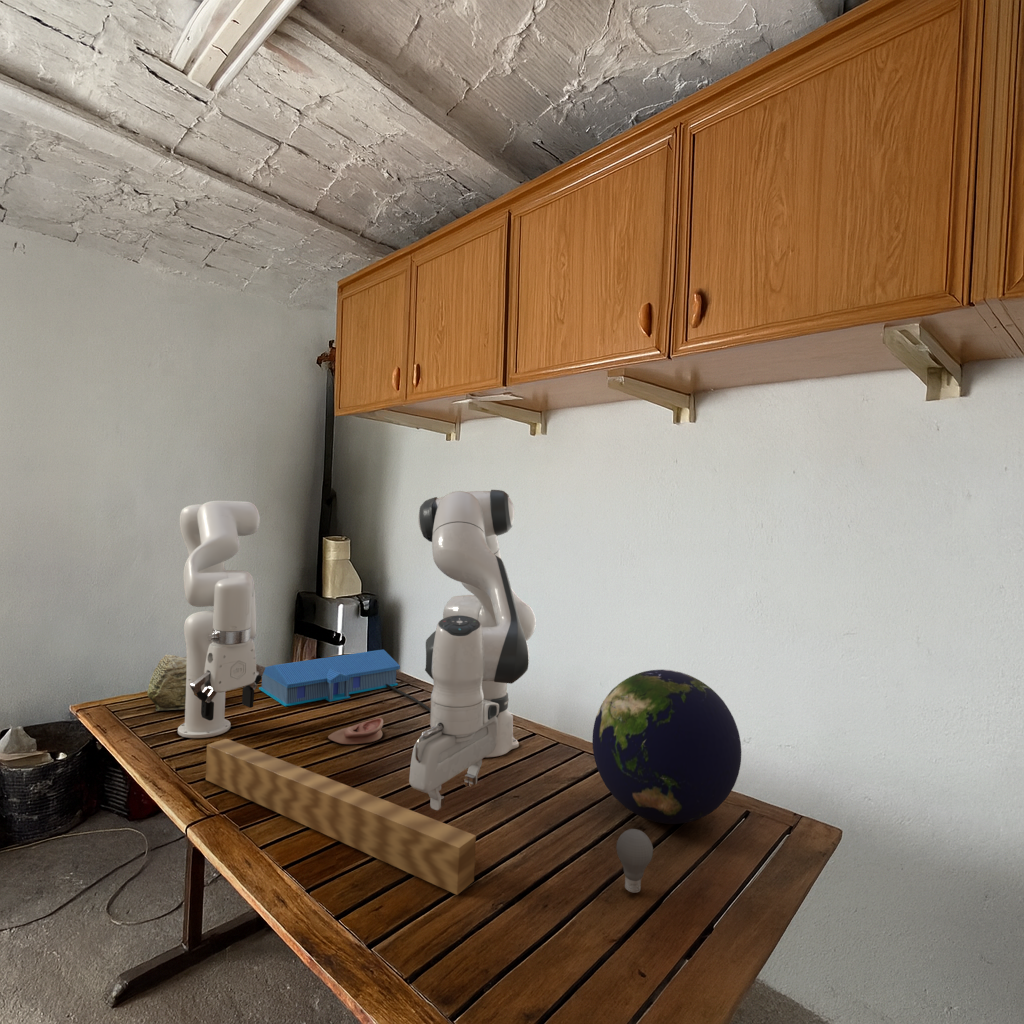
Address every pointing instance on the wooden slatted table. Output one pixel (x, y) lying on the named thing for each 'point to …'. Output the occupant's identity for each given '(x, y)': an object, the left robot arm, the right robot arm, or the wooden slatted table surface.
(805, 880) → the wooden slatted table surface
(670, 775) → the globe
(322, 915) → the wooden slatted table surface
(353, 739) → the anatomical model
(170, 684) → the fossil
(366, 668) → the model building
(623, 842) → the light bulb
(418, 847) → the bar
